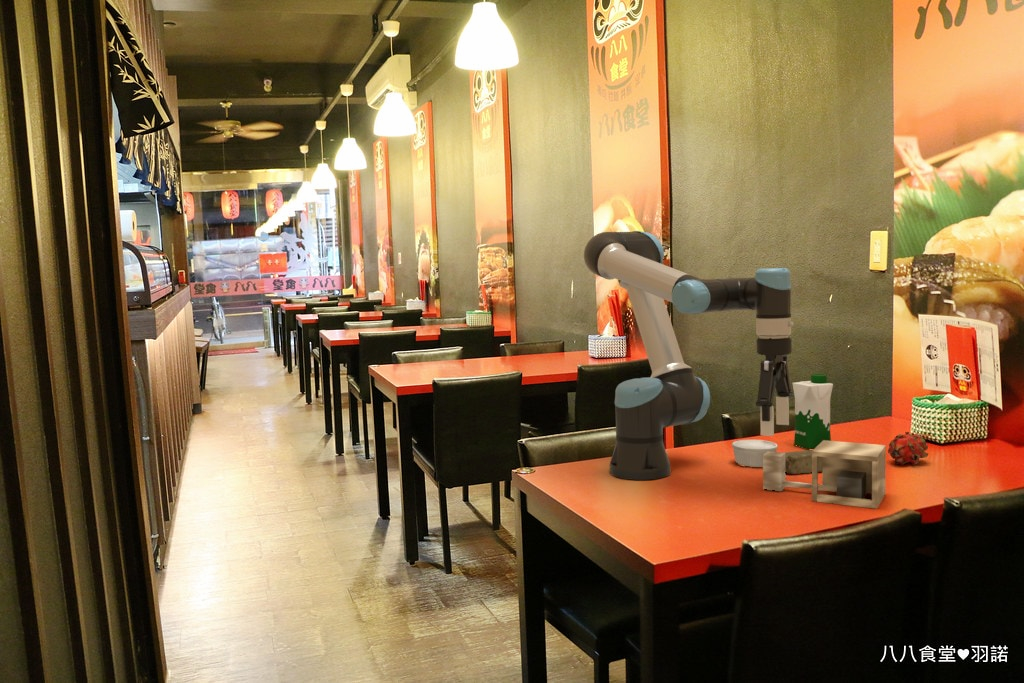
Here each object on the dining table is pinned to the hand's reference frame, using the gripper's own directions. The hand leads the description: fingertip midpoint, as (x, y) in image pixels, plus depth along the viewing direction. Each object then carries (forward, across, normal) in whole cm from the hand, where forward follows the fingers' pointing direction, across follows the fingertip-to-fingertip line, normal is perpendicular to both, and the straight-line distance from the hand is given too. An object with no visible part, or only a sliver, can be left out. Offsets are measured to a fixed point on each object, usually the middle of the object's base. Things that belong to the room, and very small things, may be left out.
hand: (775, 429), depth 185 cm
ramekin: (+14, +22, +11) cm, 28 cm away
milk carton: (+14, +47, +2) cm, 49 cm away
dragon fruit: (+14, +37, -23) cm, 46 cm away
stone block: (+14, +19, -2) cm, 24 cm away
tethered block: (+14, 0, -8) cm, 16 cm away
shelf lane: (+14, 0, -15) cm, 21 cm away
